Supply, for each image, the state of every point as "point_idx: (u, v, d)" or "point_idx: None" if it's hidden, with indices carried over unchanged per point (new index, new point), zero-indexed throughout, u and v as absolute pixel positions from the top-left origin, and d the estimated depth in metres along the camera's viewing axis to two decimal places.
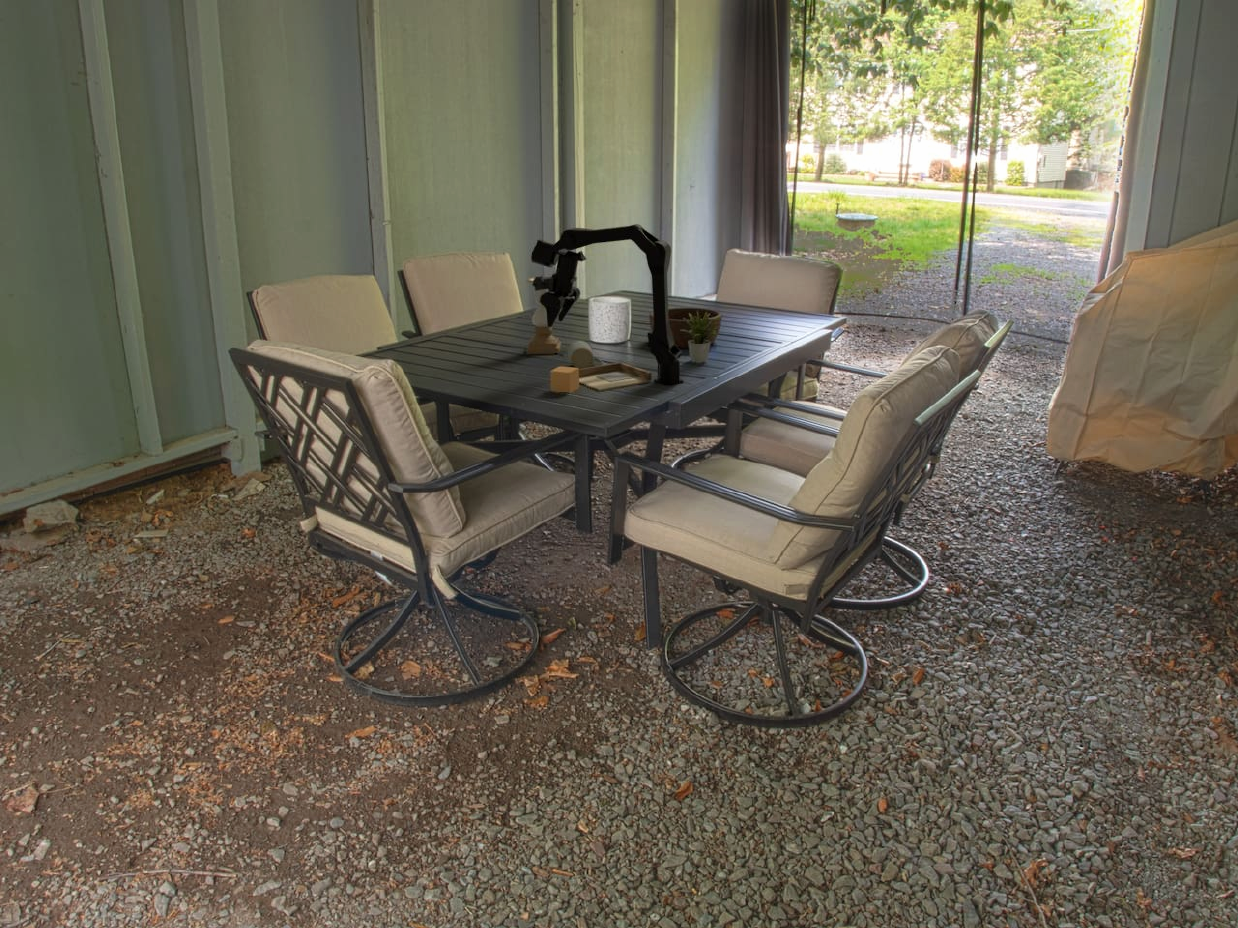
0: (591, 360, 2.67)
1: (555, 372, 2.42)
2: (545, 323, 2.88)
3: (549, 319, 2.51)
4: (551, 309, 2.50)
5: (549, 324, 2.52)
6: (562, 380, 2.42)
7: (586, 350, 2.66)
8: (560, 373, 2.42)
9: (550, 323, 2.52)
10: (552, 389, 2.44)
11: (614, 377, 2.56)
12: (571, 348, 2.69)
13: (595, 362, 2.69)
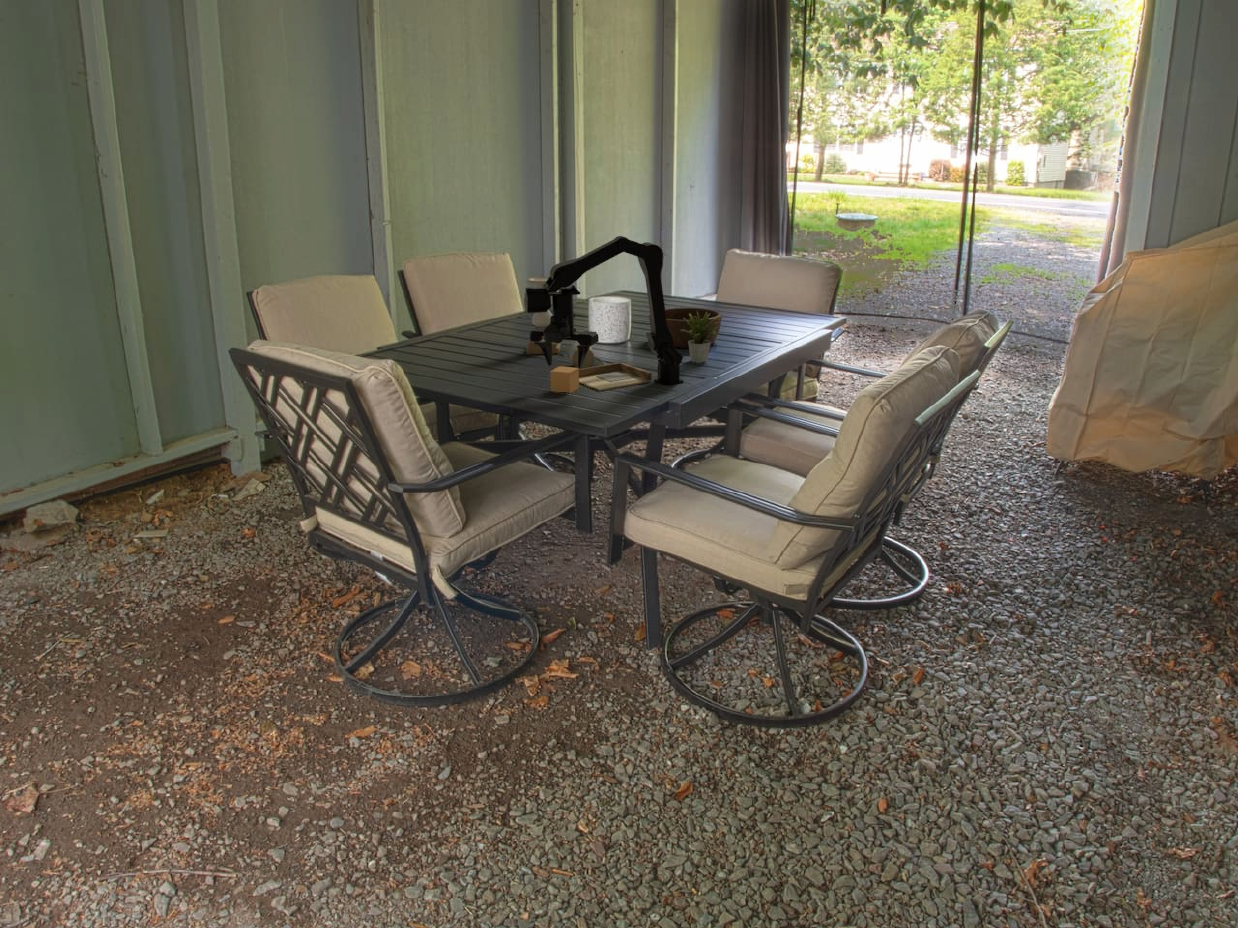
0: (592, 360, 2.67)
1: (555, 372, 2.42)
2: (545, 323, 2.88)
3: (582, 360, 2.41)
4: None
5: (581, 365, 2.42)
6: (562, 380, 2.42)
7: None
8: (560, 373, 2.42)
9: (581, 364, 2.42)
10: (552, 389, 2.44)
11: (614, 377, 2.56)
12: (572, 348, 2.69)
13: (596, 362, 2.69)
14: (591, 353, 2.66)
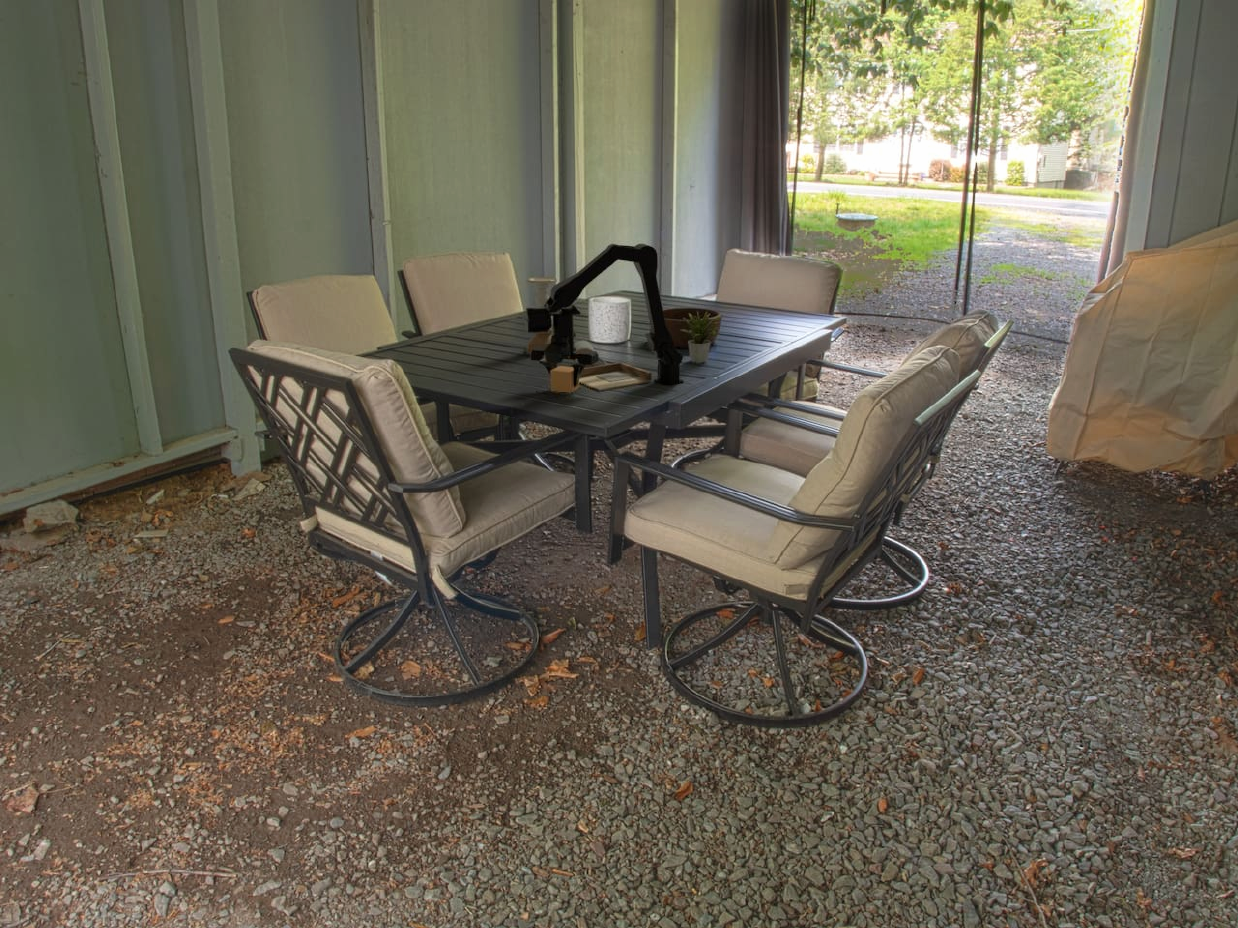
0: None
1: (555, 372, 2.42)
2: None
3: (577, 378, 2.43)
4: None
5: (576, 384, 2.44)
6: (562, 380, 2.42)
7: (589, 350, 2.66)
8: (560, 373, 2.42)
9: (577, 382, 2.44)
10: (552, 389, 2.44)
11: (614, 377, 2.56)
12: None
13: (598, 362, 2.69)
14: None
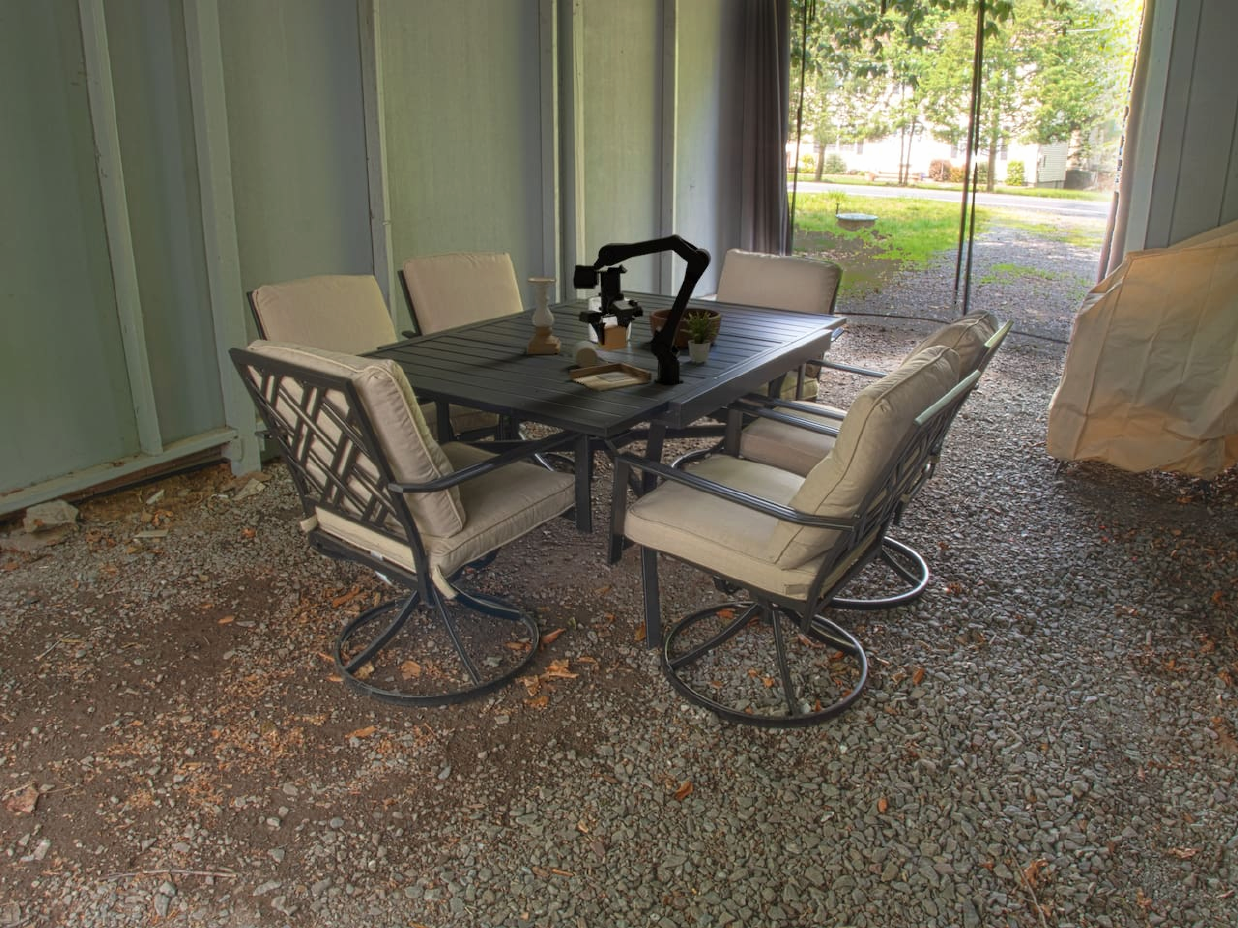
0: (596, 360, 2.67)
1: (613, 330, 2.48)
2: (545, 323, 2.88)
3: None
4: None
5: None
6: (619, 336, 2.50)
7: (591, 350, 2.66)
8: (617, 330, 2.49)
9: None
10: (610, 347, 2.49)
11: (614, 377, 2.56)
12: (576, 348, 2.69)
13: (600, 362, 2.69)
14: (594, 353, 2.66)
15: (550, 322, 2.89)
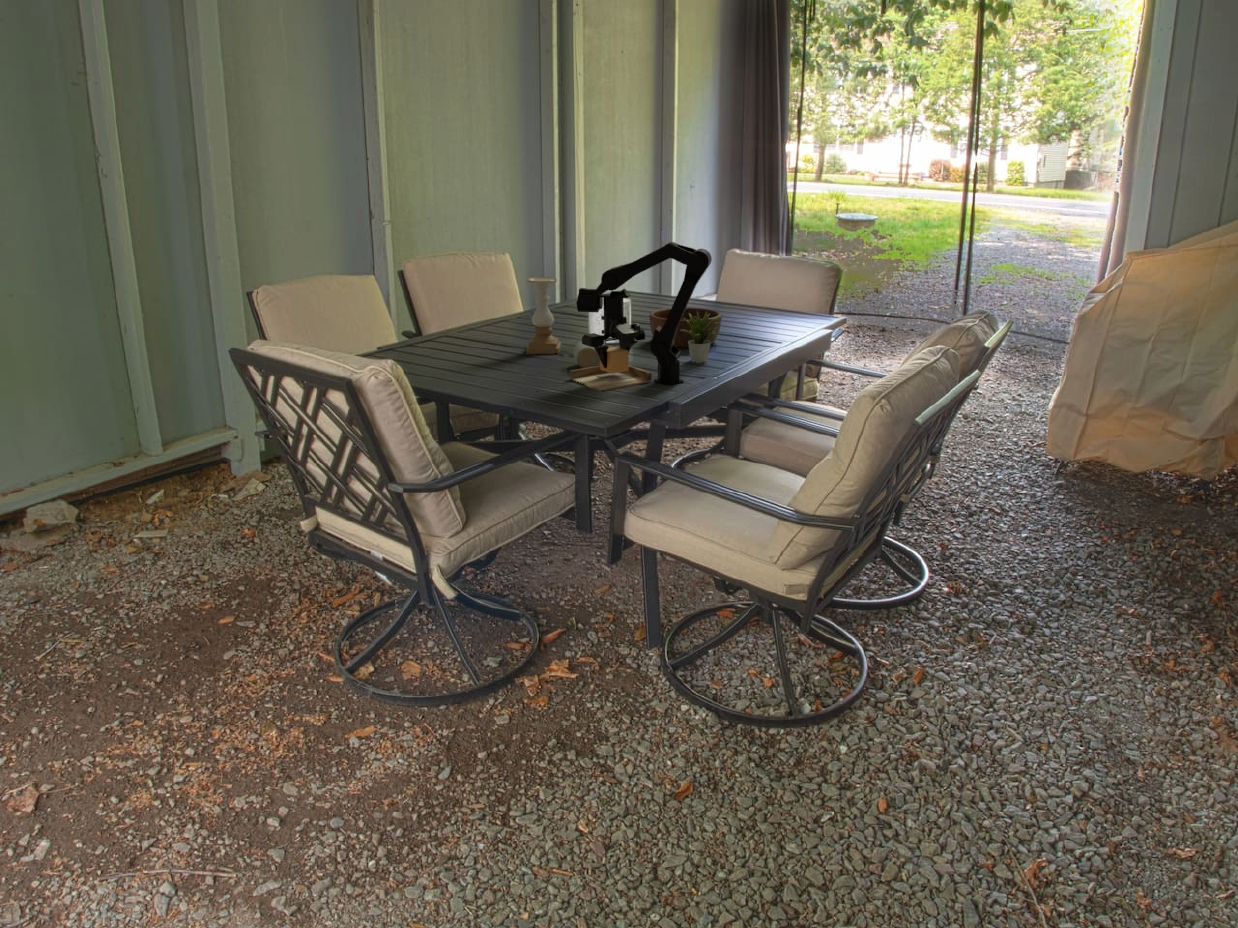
0: (597, 360, 2.67)
1: (615, 353, 2.51)
2: (545, 323, 2.88)
3: None
4: None
5: None
6: (621, 359, 2.53)
7: (592, 350, 2.66)
8: (620, 353, 2.52)
9: None
10: (612, 370, 2.52)
11: (614, 377, 2.56)
12: (577, 348, 2.69)
13: None
14: (595, 353, 2.66)
15: (550, 322, 2.89)
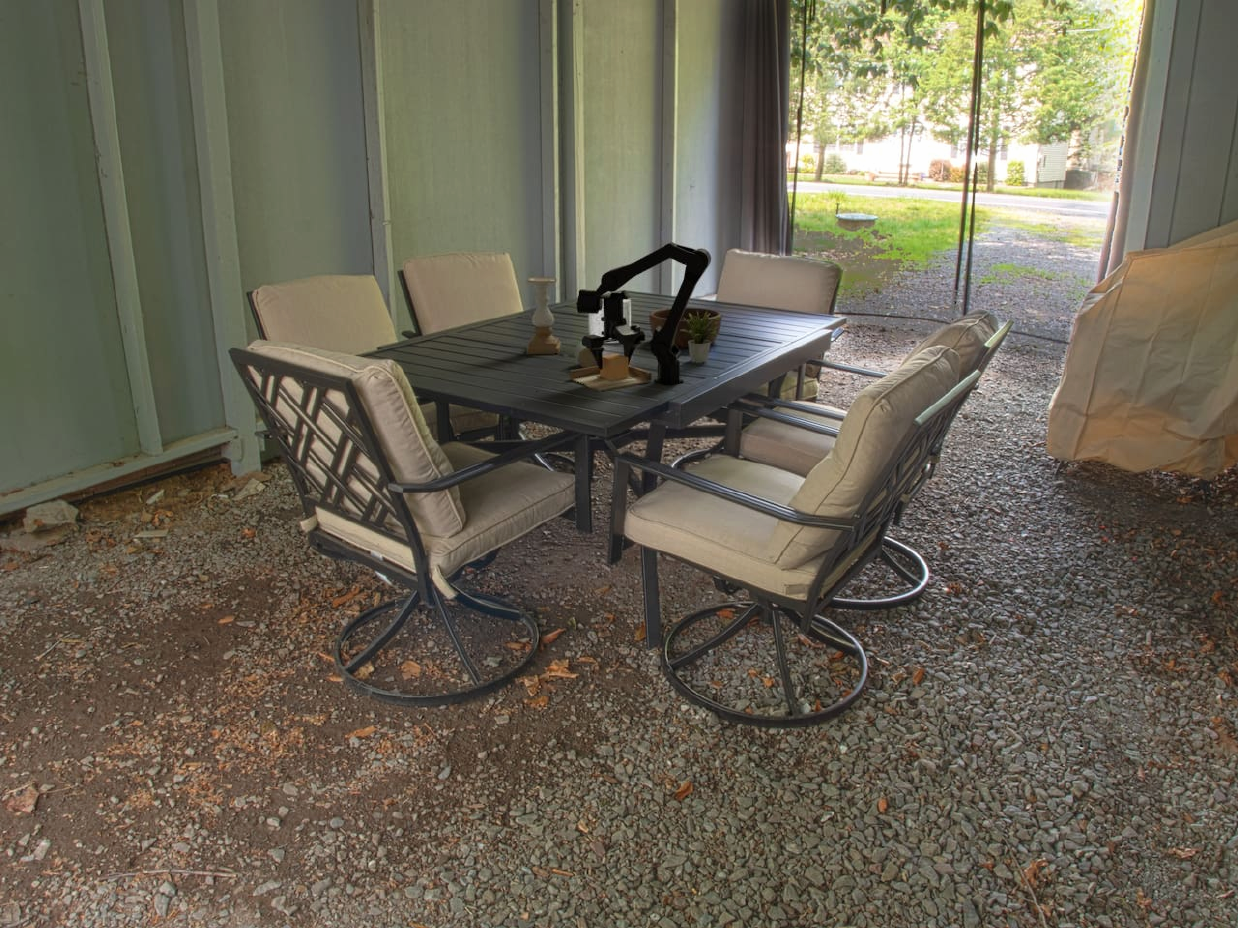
0: None
1: (615, 360, 2.52)
2: (545, 323, 2.88)
3: None
4: None
5: None
6: (621, 366, 2.53)
7: None
8: (620, 359, 2.52)
9: None
10: (612, 377, 2.53)
11: None
12: (578, 348, 2.69)
13: None
14: None
15: (550, 322, 2.89)
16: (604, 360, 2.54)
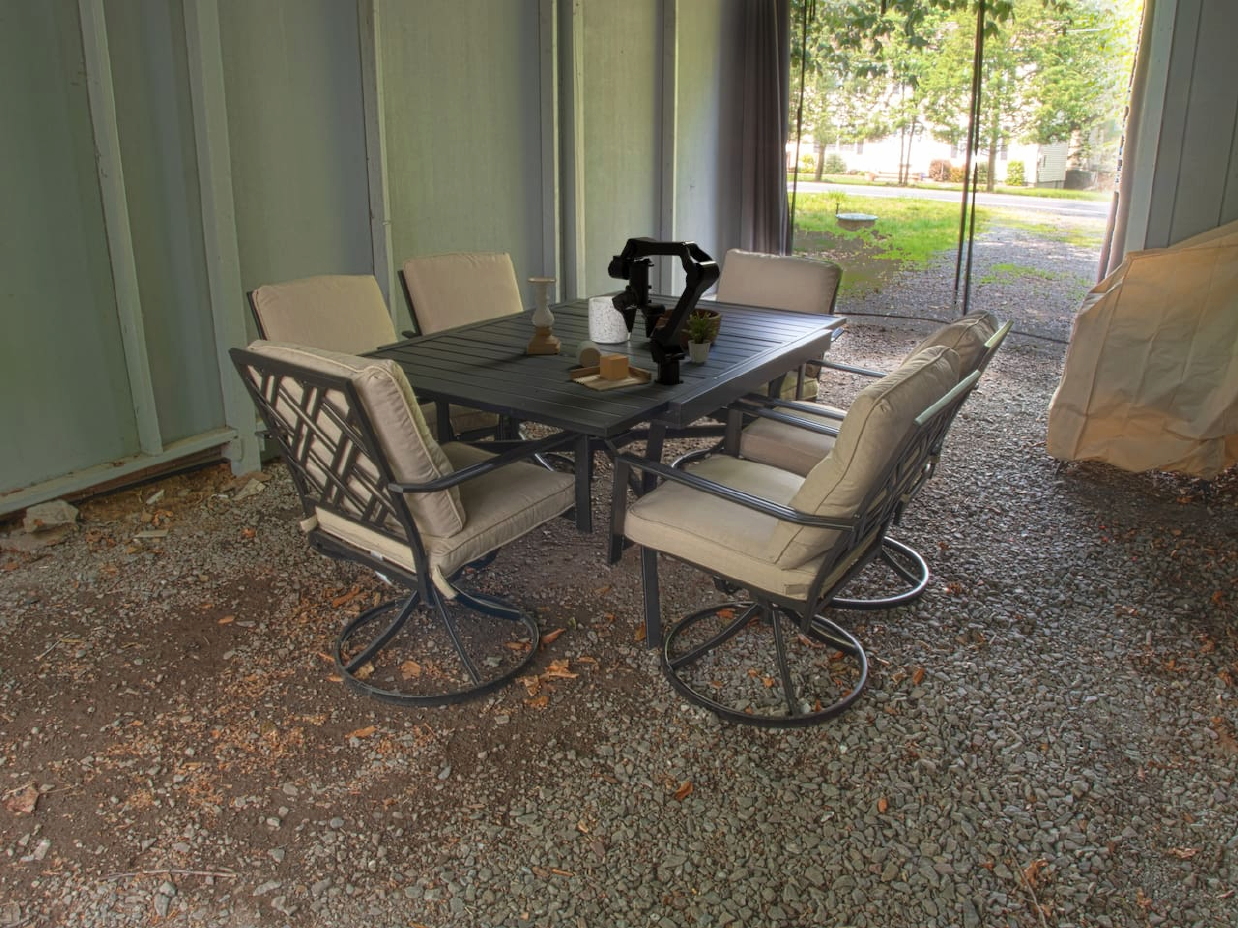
0: (599, 360, 2.67)
1: (615, 360, 2.52)
2: (545, 323, 2.88)
3: (649, 330, 2.53)
4: (650, 319, 2.51)
5: (648, 335, 2.54)
6: (621, 366, 2.53)
7: (594, 350, 2.66)
8: (620, 359, 2.52)
9: (649, 334, 2.53)
10: (612, 377, 2.53)
11: None
12: (579, 348, 2.69)
13: None
14: (598, 353, 2.67)
15: (550, 322, 2.89)
16: (604, 360, 2.54)
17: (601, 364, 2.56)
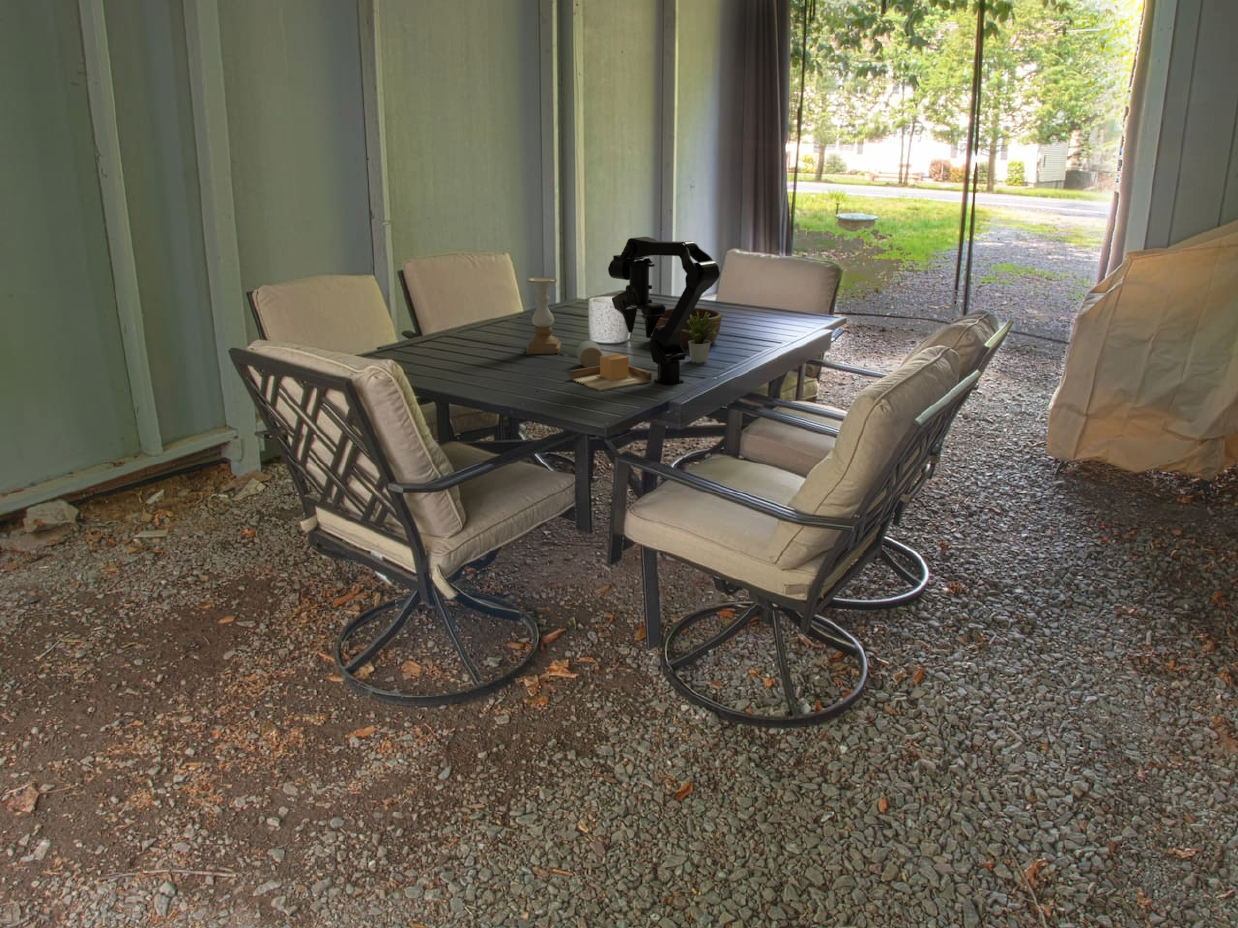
0: None
1: (615, 360, 2.52)
2: (545, 323, 2.88)
3: (649, 330, 2.53)
4: (650, 319, 2.51)
5: (649, 335, 2.54)
6: (621, 366, 2.53)
7: (595, 350, 2.66)
8: (620, 359, 2.52)
9: (649, 334, 2.53)
10: (612, 377, 2.53)
11: None
12: (580, 348, 2.70)
13: None
14: (599, 353, 2.67)
15: (550, 322, 2.89)
16: (604, 360, 2.54)
17: (601, 364, 2.56)
